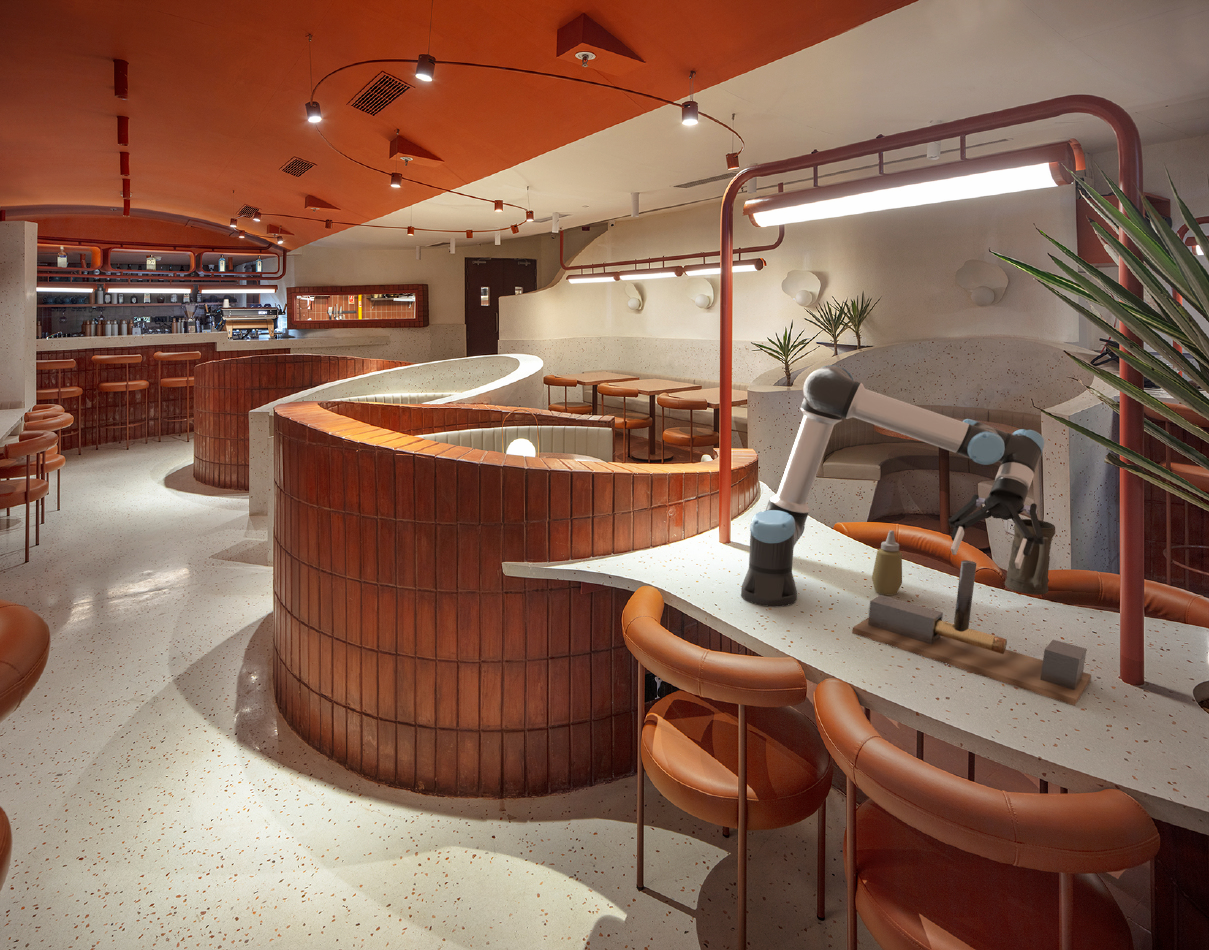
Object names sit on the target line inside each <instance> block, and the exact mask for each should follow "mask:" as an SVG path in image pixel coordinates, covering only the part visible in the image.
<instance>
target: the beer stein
mask: <svg viewBox="0 0 1209 950" xmlns="http://www.w3.org/2000/svg"><path fill="white" fill-rule="evenodd" d="M1021 519H1022V521H1023V522H1024V524H1025V525H1026V526H1027V528H1028V529H1029V531H1030V532H1031V534H1032V535H1033V536H1036V534H1035V530H1034V527H1033V524H1032V521H1031V518H1021ZM1038 521H1039V524H1040V527H1041V530H1042V533H1043V536H1044V544H1042V545H1041V544H1034V545H1033V548H1032V551H1031V554H1030V555H1029V556H1026V555H1024V558H1023V561H1022V564H1021V567H1020V569H1018V568H1016V566H1015V560H1016V557H1017V554H1018V551H1019V548H1020V546H1021V543H1022V540H1023V538H1024V539H1025V537H1024V536H1023V535H1022V533H1021V532H1020V530H1019V529H1018V527H1017V526H1016V524H1015V523H1014V526H1013V531H1014V536H1013V540H1012V542H1011V543H1012V545H1011V553H1010V558H1009V560H1008V568H1007V572H1006V579H1005V581H1004V586H1005V587H1006V588H1008V589H1009V590H1012V591H1014V592H1017V593H1019V594H1020V593H1021V594H1026V595H1033V596H1038V595H1039V596H1040V595H1045V594H1048V593H1049V586H1048V585H1049V582H1050V580H1049V569H1050V561H1051V559H1050V558H1051V556H1050V554H1051V553H1050V552H1051V548H1052V547H1051V545H1052V541H1053V537H1054V536H1055V535H1056V526H1055V524H1053V523H1050V522H1049V521H1045V520H1040V519H1038Z"/></svg>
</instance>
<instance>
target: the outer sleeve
mask: <svg viewBox="0 0 1209 950" xmlns="http://www.w3.org/2000/svg"><path fill="white" fill-rule="evenodd" d="M943 616H944V612H943V611H940V610H937V609H933V608H928V607H925V606H921V605H918V604H914V603H911V602H907V601H904V600H900V599H896V598H893V597H889V596H885V595H883V594H879V595H878V596H876V597H874V598H873V599H871V600H870V601H869V612H868V617H869V621H868V625H870V626H873V627H876V628H880V629H883V630H886V631H889V632H892V633H896V634H899V635H902V636H905V637H908V638H912V639H915V640H918V641H921V642H925V643H928V644H933V643H934V642H935V641H936V640H937V639H939V638H940V635H937V634H934V626H935V621H936V620H941V621H943Z"/></svg>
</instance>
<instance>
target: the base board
mask: <svg viewBox="0 0 1209 950" xmlns="http://www.w3.org/2000/svg"><path fill="white" fill-rule="evenodd" d="M868 621H869V616H868V617H867V618H865V619H863V620H861V622H859V623H857V624H856V625H854V626H852V629H851V634H853V635H857V636H860V637H862V638H866V639H869V640H871V641H875V642H878V643H882V644H884V645H887V644H888V646H890V647H894V648H896V647H897V648H896V649H900V650H902V651H905V652H909V653H912V654H914V653H915V655H916V656H918V655H919V656H921V655H922V656H921V657H924V658H927V659H930V658H931V659H930V660H933V661H936V662H938V663H942V662H943V663H942V664H945V663H947V664H946V665H948V664H949V666H952V667H954V666H955V668H957V669H961V670H964V671H966V672H969V673H973V674H977V675H978V676H979V675H980V676H982V677H986V678H988V679H992V680H994V681H996V682H997V681H998V682H1000V683H1004V684H1007V685H1010V686H1013V687H1016V688H1019V689H1022V690H1025V691H1029V692H1031V693H1034V694H1036V695H1037V694H1038V695H1040V696H1043V697H1046V698H1049V699H1053V700H1056V701H1058V702H1062V703H1065V704H1067V705H1068V704H1069V705H1071V706H1073V707H1074V706H1075V707H1076V705H1077V703H1078V702H1079V700H1080V698H1081V697H1082V695H1083V694H1084V692H1085V690H1086V689H1087V687H1088V685H1090V683H1091V680H1092V674H1091V673H1087V672H1084V671H1083V675H1082V679H1081V681H1080V683H1079V684H1078V686H1077V687H1076V689H1075V690H1072V689H1069V688H1065V687H1062V686H1059V685H1056V684H1053V683H1049V682H1046V681H1043V680H1040V678H1041V671H1042V664H1043V659H1040V658H1037V657H1034V656H1030V655H1025V654H1023V653H1020V652H1015V651H1013V650H1011V649H1010V650H1009V649H1007V648H1006V649H1005V652H1004V653H1003V654H1001V653H997V652H994V651H991V650H987V649H984V648H981V647H977V646H974V645H971V644H967V643H964V642H961V641H957V640H954V639H951V638H947V637H944V636H941V635H940V638H939V639H937V640H936V641H935V642H934V643H933V644H928V643H925V642H921V641H918V640H915V639H912V638H908V637H905V636H902V635H899V634H896V633H892V632H889V631H886V630H883V629H880V628H876V627H873V626H870V625H868Z"/></svg>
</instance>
